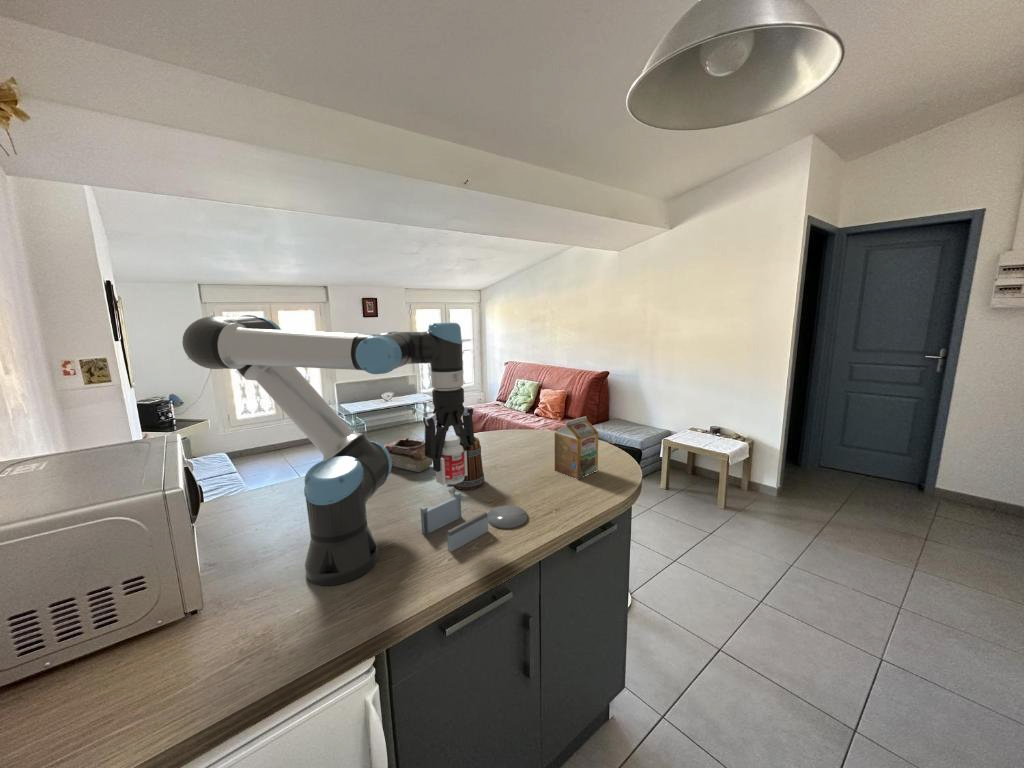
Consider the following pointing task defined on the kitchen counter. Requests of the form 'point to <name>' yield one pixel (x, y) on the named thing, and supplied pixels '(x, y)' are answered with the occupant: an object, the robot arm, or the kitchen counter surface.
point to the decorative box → (409, 454)
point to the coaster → (507, 517)
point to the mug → (473, 469)
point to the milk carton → (576, 448)
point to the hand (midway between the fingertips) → (452, 478)
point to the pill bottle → (453, 459)
